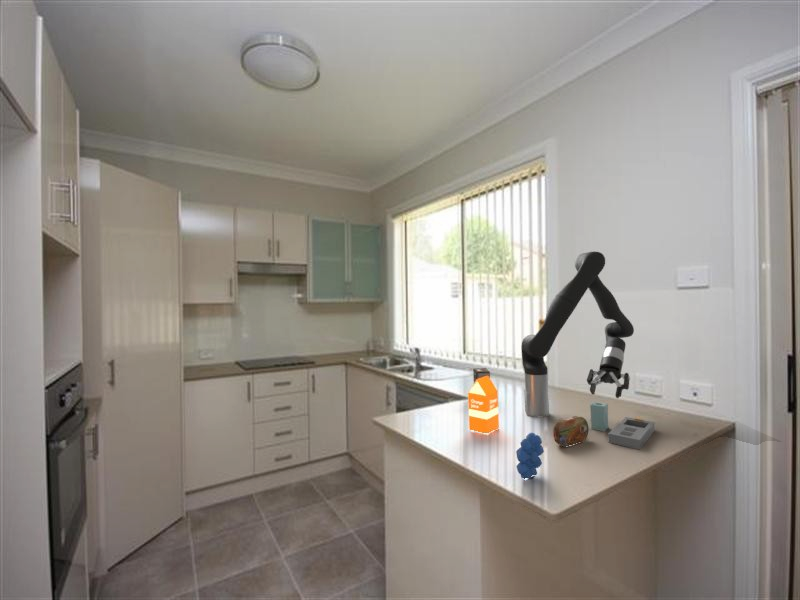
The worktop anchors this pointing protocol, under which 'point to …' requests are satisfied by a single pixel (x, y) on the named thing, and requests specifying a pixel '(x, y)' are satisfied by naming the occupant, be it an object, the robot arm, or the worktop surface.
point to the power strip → (631, 432)
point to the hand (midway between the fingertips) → (604, 395)
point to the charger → (599, 416)
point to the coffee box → (480, 373)
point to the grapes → (529, 455)
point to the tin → (570, 431)
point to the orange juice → (483, 406)
